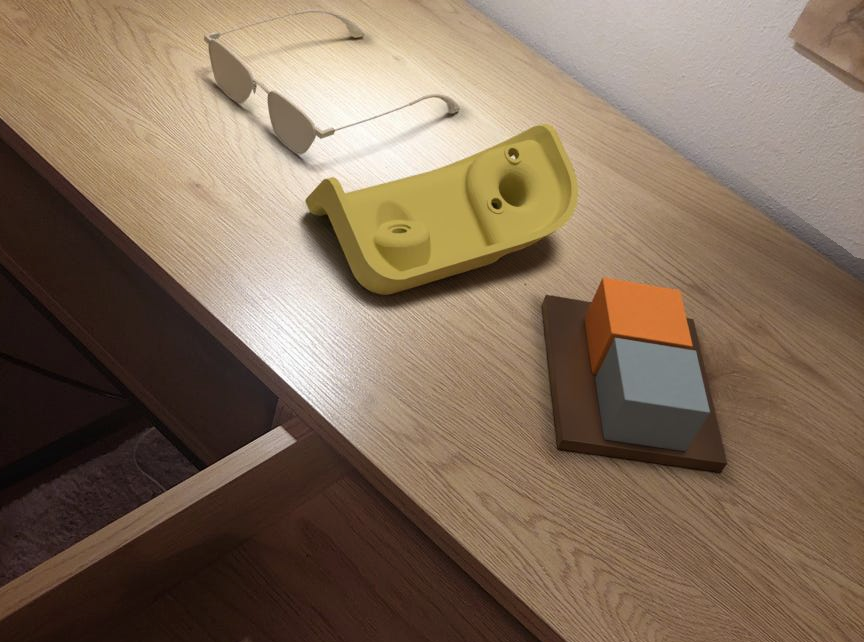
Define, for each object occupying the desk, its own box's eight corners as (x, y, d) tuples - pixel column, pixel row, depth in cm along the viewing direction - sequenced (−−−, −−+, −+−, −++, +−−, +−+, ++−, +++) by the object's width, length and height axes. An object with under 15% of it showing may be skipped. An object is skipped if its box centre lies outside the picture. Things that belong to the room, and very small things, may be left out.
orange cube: (659, 330, 81) (680, 289, 78) (670, 386, 78) (693, 345, 75) (583, 318, 81) (602, 276, 77) (591, 374, 77) (611, 332, 74)
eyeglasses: (199, 73, 92) (201, 28, 88) (354, 30, 101) (362, -13, 98) (313, 172, 86) (320, 128, 83) (466, 117, 96) (478, 75, 92)
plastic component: (377, 287, 76) (322, 159, 76) (346, 326, 83) (296, 209, 83) (596, 221, 83) (545, 105, 83) (551, 262, 90) (504, 155, 90)
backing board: (688, 328, 84) (693, 318, 83) (721, 472, 75) (727, 463, 74) (541, 304, 82) (545, 294, 81) (557, 449, 73) (562, 439, 73)
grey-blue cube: (673, 390, 78) (696, 350, 74) (685, 452, 74) (710, 412, 71) (594, 378, 77) (614, 337, 74) (603, 440, 73) (625, 399, 70)
